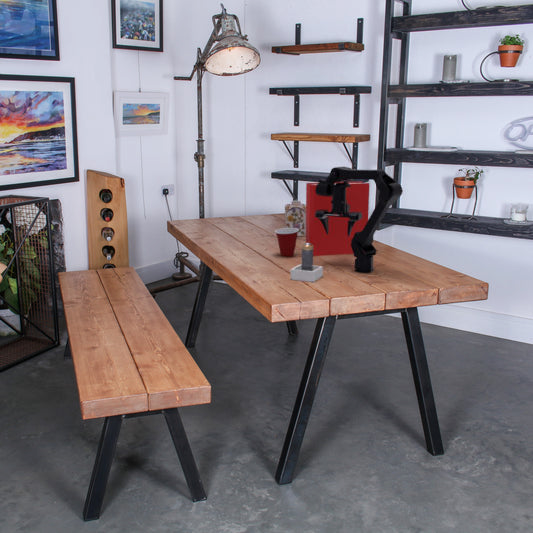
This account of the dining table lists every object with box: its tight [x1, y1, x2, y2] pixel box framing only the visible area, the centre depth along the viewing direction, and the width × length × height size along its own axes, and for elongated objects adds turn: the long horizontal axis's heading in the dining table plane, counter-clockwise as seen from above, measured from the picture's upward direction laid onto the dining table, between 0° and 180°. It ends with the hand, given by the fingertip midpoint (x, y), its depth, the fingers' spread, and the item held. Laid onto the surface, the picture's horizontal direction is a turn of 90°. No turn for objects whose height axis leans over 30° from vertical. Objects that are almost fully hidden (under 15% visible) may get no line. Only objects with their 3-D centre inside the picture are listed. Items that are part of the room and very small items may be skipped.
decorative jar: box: [284, 200, 306, 236], centre depth 323 cm, size 12×12×18 cm
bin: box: [290, 263, 324, 283], centre depth 240 cm, size 10×10×4 cm
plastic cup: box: [274, 227, 299, 258], centre depth 276 cm, size 11×11×12 cm
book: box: [305, 180, 370, 257], centre depth 279 cm, size 27×8×32 cm, turn 103°
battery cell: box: [301, 242, 314, 271], centre depth 238 cm, size 4×4×13 cm
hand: (338, 235), depth 256 cm, fingers open, 9 cm apart
